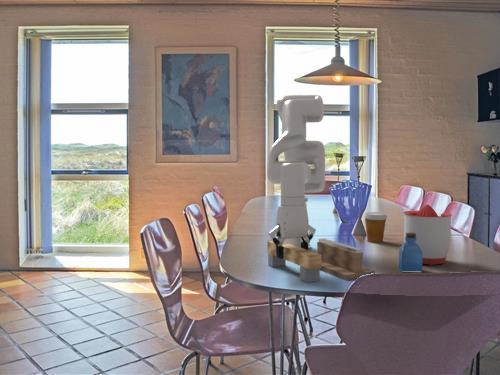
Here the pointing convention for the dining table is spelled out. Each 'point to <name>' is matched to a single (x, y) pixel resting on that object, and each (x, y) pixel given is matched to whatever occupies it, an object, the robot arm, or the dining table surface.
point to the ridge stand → (341, 260)
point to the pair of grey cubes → (305, 273)
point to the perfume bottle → (410, 254)
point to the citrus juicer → (429, 233)
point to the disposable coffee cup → (375, 226)
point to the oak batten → (297, 255)
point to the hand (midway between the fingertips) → (292, 256)
